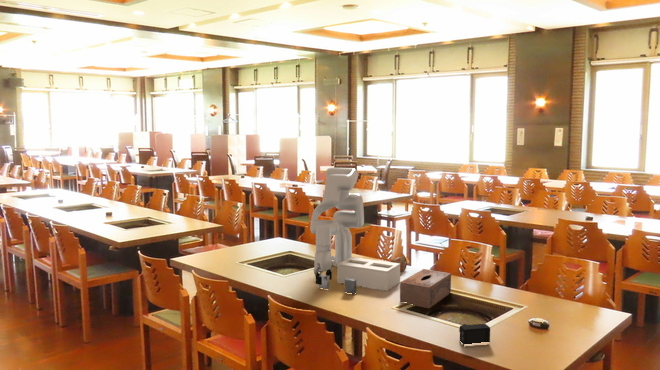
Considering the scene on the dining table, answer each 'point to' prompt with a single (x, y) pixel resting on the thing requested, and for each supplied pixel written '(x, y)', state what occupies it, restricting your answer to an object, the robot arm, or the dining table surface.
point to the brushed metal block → (350, 286)
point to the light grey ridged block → (325, 282)
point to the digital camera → (474, 333)
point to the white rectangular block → (369, 273)
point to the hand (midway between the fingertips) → (323, 281)
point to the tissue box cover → (425, 288)
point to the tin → (402, 263)
